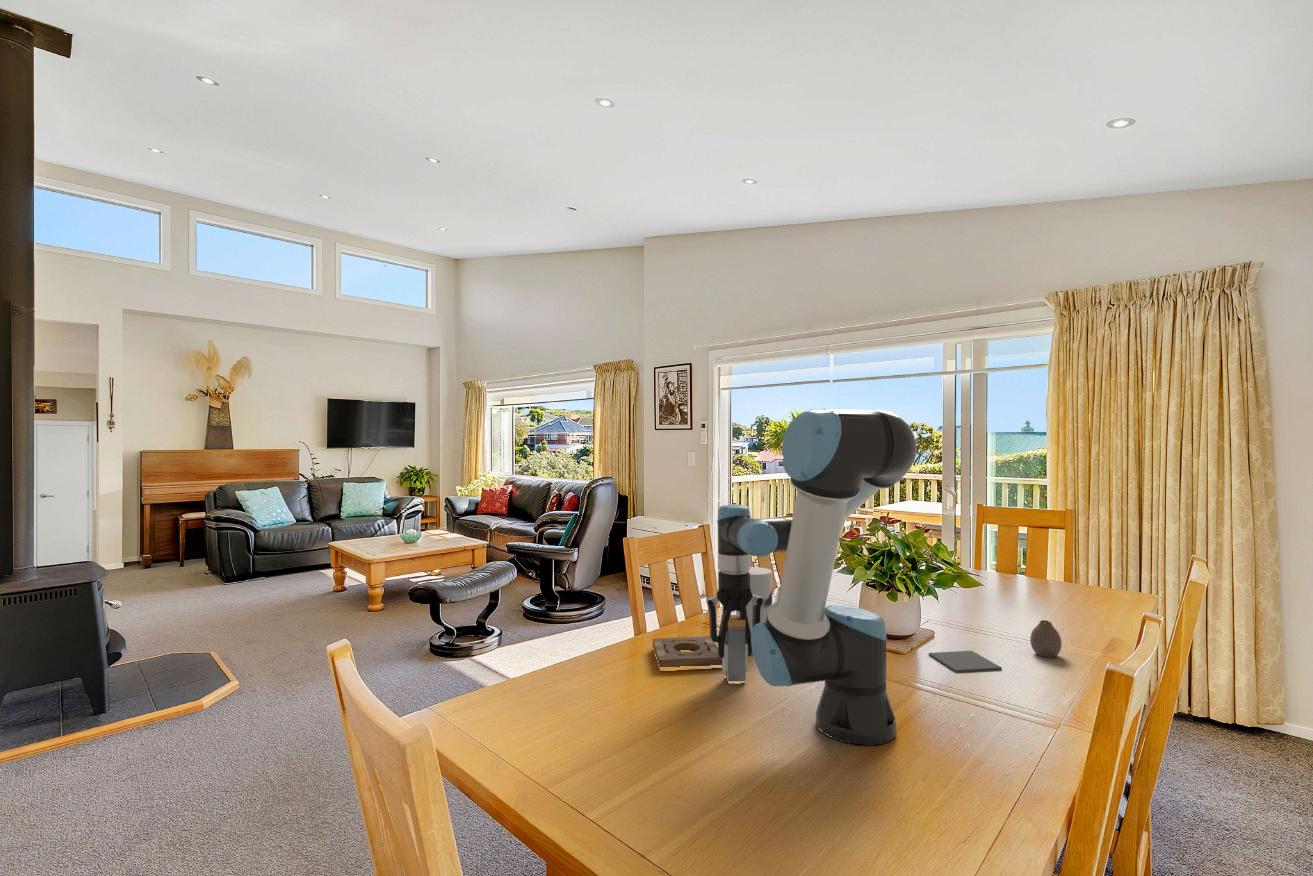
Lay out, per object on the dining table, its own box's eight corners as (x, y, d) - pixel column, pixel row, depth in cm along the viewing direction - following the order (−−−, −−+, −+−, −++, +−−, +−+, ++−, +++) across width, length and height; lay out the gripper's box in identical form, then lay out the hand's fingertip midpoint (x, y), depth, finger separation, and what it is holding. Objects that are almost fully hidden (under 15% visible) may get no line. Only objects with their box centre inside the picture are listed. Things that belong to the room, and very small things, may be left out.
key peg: (745, 684, 146) (745, 619, 146) (728, 685, 145) (728, 620, 145) (741, 677, 150) (741, 614, 150) (724, 678, 149) (724, 615, 149)
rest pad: (1001, 669, 153) (1001, 667, 153) (955, 672, 152) (955, 669, 152) (971, 653, 165) (971, 650, 165) (928, 655, 163) (928, 652, 163)
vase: (1052, 650, 166) (1052, 617, 166) (1067, 660, 159) (1067, 625, 159) (1025, 650, 167) (1025, 617, 167) (1038, 659, 160) (1038, 625, 160)
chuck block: (723, 668, 155) (723, 656, 155) (659, 672, 154) (659, 659, 154) (710, 647, 171) (710, 636, 171) (652, 649, 169) (652, 638, 169)
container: (775, 647, 171) (774, 574, 170) (738, 647, 171) (737, 574, 171) (769, 635, 181) (768, 566, 180) (734, 635, 181) (734, 566, 181)
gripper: (765, 566, 152) (765, 662, 152) (695, 568, 150) (696, 666, 150) (774, 573, 145) (775, 674, 145) (701, 575, 143) (702, 678, 143)
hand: (735, 669), depth 147 cm, fingers closed on key peg, 4 cm apart
